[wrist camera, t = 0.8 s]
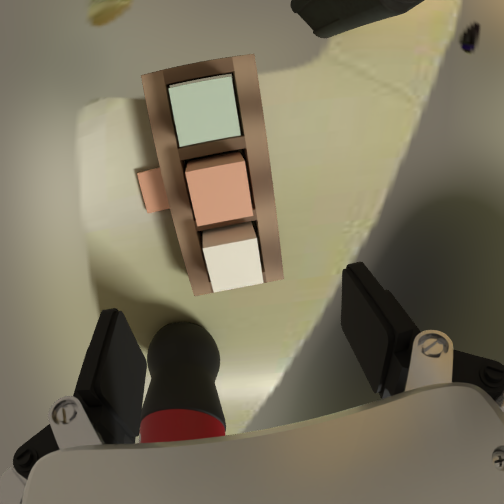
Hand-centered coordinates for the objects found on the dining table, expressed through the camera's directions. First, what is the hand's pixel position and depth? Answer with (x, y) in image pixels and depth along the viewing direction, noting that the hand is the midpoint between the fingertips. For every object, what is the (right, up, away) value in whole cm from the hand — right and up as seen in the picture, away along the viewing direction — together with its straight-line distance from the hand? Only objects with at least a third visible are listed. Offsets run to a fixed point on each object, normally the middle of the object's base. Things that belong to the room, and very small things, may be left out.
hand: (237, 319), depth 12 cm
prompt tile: (-8, +8, +17) cm, 21 cm away
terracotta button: (-2, +9, +16) cm, 18 cm away
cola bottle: (-8, -8, +26) cm, 29 cm away
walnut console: (-3, +9, +17) cm, 20 cm away
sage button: (-3, +14, +13) cm, 20 cm away
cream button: (-1, +3, +19) cm, 20 cm away
